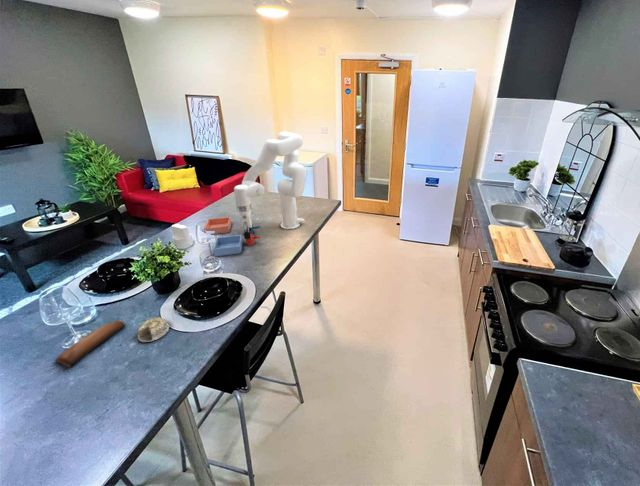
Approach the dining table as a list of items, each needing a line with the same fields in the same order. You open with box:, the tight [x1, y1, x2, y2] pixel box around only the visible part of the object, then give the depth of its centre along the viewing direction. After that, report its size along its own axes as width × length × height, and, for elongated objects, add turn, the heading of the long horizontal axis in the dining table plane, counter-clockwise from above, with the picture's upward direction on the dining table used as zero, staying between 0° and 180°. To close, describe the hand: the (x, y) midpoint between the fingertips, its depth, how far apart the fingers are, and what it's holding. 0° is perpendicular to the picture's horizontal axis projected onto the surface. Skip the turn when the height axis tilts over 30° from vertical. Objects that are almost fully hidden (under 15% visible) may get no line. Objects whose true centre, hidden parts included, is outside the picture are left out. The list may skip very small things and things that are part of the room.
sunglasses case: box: [55, 320, 126, 368], centre depth 103 cm, size 18×7×7 cm
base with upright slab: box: [171, 223, 194, 250], centre depth 163 cm, size 9×9×12 cm
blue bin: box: [212, 234, 244, 257], centre depth 162 cm, size 13×13×4 cm
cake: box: [136, 317, 171, 343], centre depth 108 cm, size 10×10×5 cm
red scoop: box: [244, 233, 262, 246], centre depth 168 cm, size 9×5×5 cm, turn 107°
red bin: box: [203, 216, 232, 235], centre depth 183 cm, size 13×13×4 cm
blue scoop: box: [249, 224, 261, 235], centre depth 179 cm, size 9×5×5 cm, turn 107°
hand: (248, 234), depth 165 cm, fingers open, 9 cm apart
